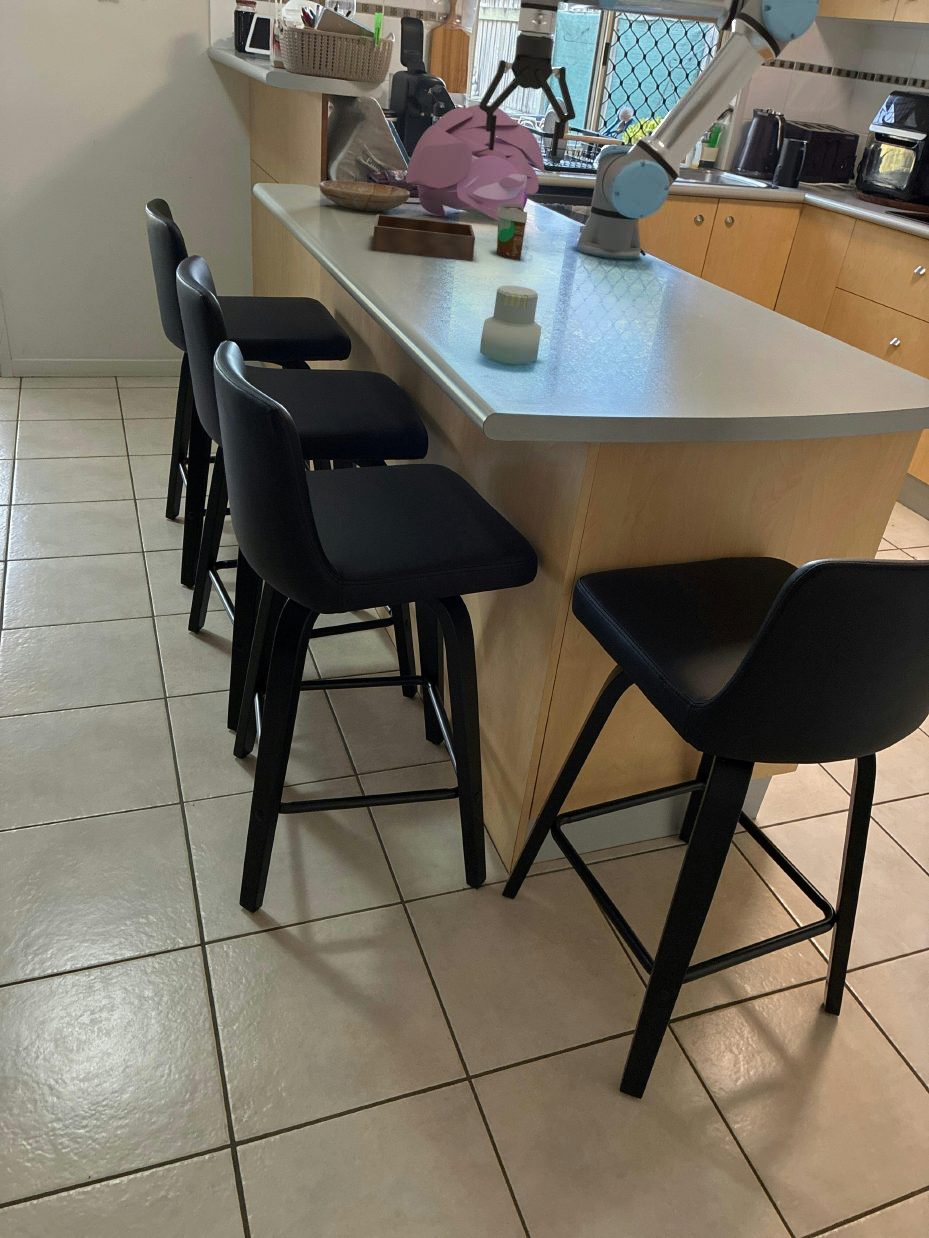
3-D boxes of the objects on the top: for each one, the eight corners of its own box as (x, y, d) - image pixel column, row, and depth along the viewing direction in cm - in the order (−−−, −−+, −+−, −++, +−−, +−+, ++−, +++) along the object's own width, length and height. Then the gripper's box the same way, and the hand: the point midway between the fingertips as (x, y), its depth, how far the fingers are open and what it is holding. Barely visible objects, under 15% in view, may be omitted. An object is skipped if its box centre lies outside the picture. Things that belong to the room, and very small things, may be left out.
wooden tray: (469, 247, 207) (471, 224, 204) (472, 261, 194) (475, 237, 192) (375, 237, 205) (376, 214, 202) (372, 250, 192) (374, 226, 189)
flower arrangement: (521, 235, 257) (540, 124, 248) (545, 234, 236) (568, 112, 227) (399, 211, 248) (415, 95, 239) (413, 206, 227) (431, 79, 218)
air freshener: (483, 346, 139) (491, 278, 134) (537, 354, 139) (547, 286, 134) (477, 366, 130) (485, 294, 125) (534, 374, 130) (545, 302, 124)
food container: (489, 247, 209) (495, 200, 204) (515, 250, 210) (522, 203, 204) (493, 258, 199) (499, 209, 193) (520, 261, 199) (527, 212, 194)
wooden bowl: (425, 212, 242) (427, 192, 239) (371, 219, 225) (372, 197, 222) (357, 197, 251) (357, 177, 249) (299, 202, 234) (300, 181, 231)
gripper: (475, 28, 179) (465, 148, 190) (599, 42, 182) (582, 160, 193) (473, 28, 186) (463, 145, 197) (592, 42, 188) (576, 156, 200)
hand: (522, 153), depth 195 cm, fingers open, 13 cm apart
